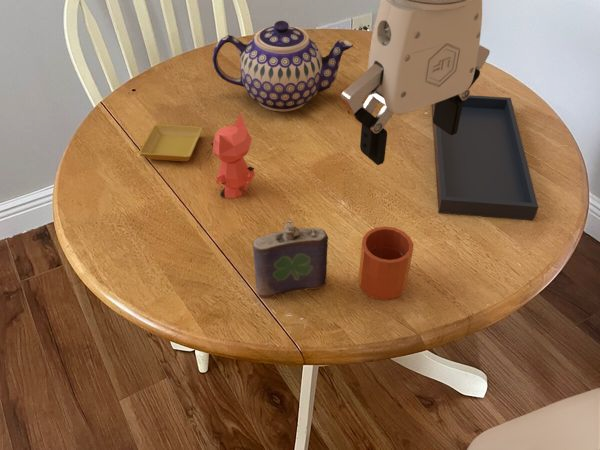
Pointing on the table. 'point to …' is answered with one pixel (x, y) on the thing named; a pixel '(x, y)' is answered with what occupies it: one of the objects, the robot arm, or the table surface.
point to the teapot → (283, 66)
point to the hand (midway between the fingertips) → (409, 142)
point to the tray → (484, 163)
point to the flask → (290, 260)
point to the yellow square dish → (171, 142)
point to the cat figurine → (233, 158)
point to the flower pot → (385, 262)
